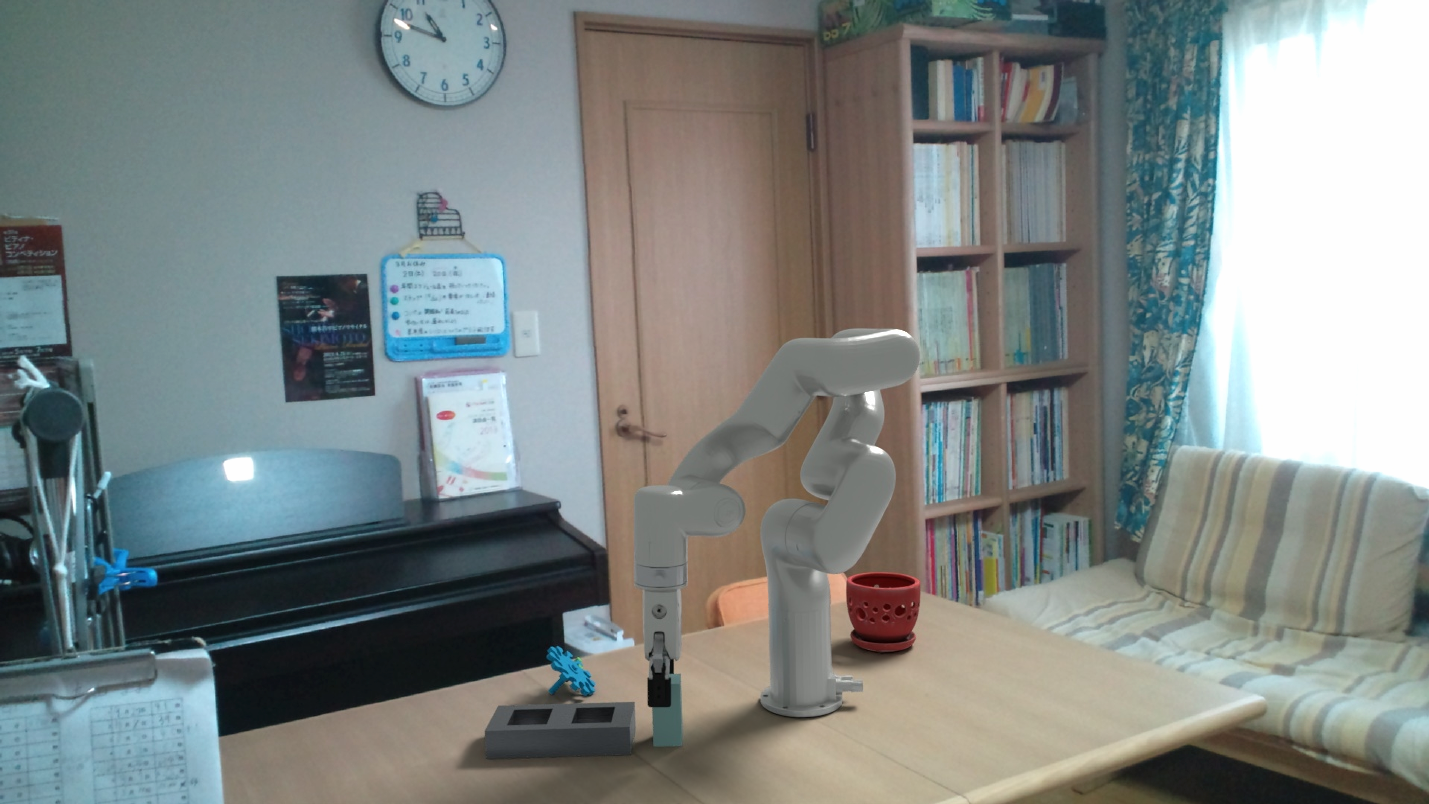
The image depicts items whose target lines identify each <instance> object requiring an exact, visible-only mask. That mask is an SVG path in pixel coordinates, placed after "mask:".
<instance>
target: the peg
mask: <svg viewBox="0 0 1429 804" xmlns="http://www.w3.org/2000/svg"><path fill="white" fill-rule="evenodd" d="M669 677H671V706H670V707H651V713H652V739H653V740H652V741H653V747H654V748H656V747H658V748H659V747H682V746H683V740H684V739H683V737H684V736H683V735H684V730H683V727H684V726H683V724H684V723H683V700H682V674H681V673H674V674H669Z"/></svg>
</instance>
